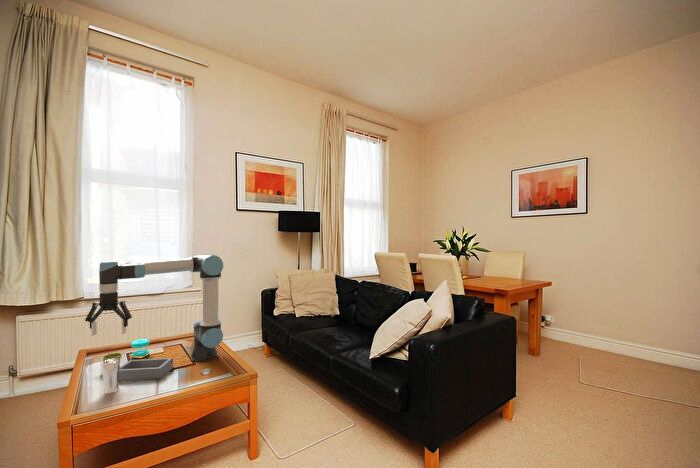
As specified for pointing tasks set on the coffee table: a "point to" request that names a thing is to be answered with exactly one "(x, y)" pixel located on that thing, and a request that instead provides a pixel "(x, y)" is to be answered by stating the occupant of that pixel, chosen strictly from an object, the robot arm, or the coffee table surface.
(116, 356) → the plant pot
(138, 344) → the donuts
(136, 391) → the coffee table surface
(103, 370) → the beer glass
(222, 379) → the coffee table surface
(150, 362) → the open box
